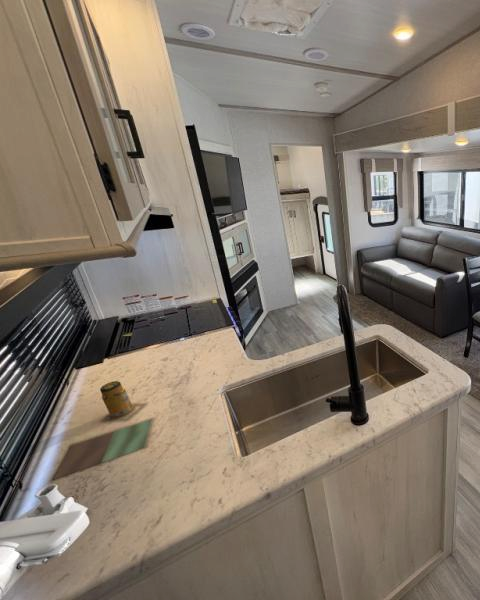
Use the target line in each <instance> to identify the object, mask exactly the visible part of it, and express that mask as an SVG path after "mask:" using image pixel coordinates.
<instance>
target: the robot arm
mask: <svg viewBox="0 0 480 600" xmlns="http://www.w3.org/2000/svg"><path fill="white" fill-rule="evenodd" d="M74 502H75V499H74V498H73V497H72V496H68V497H65V498H63V499H62V501H60V502H59V503H58V506H59V507H60V509H59V511H55V512H54V513H53V515H46V516H42V504H41V501H40V502H39V503H38V504H36V505H35V506H34V507H33V508H31V509H30V510H28V511H26V512H24V513H23V514H21V515H20V516H19V517H18V518H16V519H11V520H3V521H0V600H2V599H3V597H4V596H5V595H6V594H7V593H8V592H9V591H10V589H11V588H12V587H14V585H15V584H16V582H18V580H20V578H21V577H22V576H23V574H25V572H26V571H27V569H28V568H31V567H36V566H38V567H39V566H43V565H47V564H48V563H49V562H50V561H51V562H52V561H53V560H54V559H56V558H59V557H60V556H61V555H62V554H63V553H64V552H65V551H66V550H67V549H68V548H70V547H71V545H72V544H73V543H74V542H75V541H76V540H77V539H78V538H79V537H80V536H81V535H82V534H83V533H84V531H85V530H86V529H87V528H88V527H89V525H90V517H89V516H88V514H87V512H85V511H83V510H81V511H74V512H68V510H69V507H70V506H71V505H72V504H73V503H74Z"/></svg>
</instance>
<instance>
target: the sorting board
mask: <svg viewBox="0 0 480 600" xmlns="http://www.w3.org/2000/svg"><path fill="white" fill-rule="evenodd" d="M151 423H152V419H148V420H146V421H142V422H138V423H136V424H132V425H130V426H127V427H124V428H120V429H118V430H114V431H111V432H109V433H105V434H103V435H99V436H96V437H93V438H90V439H87V440H83V441H80V442H77V443H74V444H71V446H70V448H69V450H68V452H67V454H66V455H65V458H64V459H63V461H62V462H61V464H60V466H59V468H58V470H57V472H56V474H55V475H54V478H53V481H55V480H57V479H60V478H62V477H63V478H64V477H66V476H68V475H69V476H70V475H72V474H74V473H77V472H80V471H83V470H86V469H88V468H89V469H90V468H92V467H94V466H97V465H100V464H102V463H106V462H108V461H111V460H113V459H117V458H119V457H122V456H125V455H128V454H131V453H133V452H136V451H139V450H142V449H144V448H145V447H146V444H147V440H148V435H149V431H150V428H151Z"/></svg>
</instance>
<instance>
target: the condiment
mask: <svg viewBox="0 0 480 600" xmlns="http://www.w3.org/2000/svg"><path fill="white" fill-rule="evenodd" d="M99 391H100V393H101V399H102V401H103V403H104V405H105V407H106V409H107V412H108V413H109V415H110V417H111V418H112V419H119V418H122V417H125V416H127V415H129V414H130V413H132V411H133V410H134V405H133V404H132V402H131V400H130V397H129V395H128V392H127V391H126V388H125V387H123V385H122V383H121V382H120V381H118V380H114V381H110V382H107V383H105V384H104V385H102V386H101V387H100V389H99Z"/></svg>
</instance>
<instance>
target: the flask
mask: <svg viewBox="0 0 480 600" xmlns="http://www.w3.org/2000/svg"><path fill="white" fill-rule="evenodd" d="M58 487H59V486H58V484H56V483H52V484H47V485H45V486H44V487H42V488H41V489H39V490H38V491H37V493H35V495H34V497H35V498H37V499H39V501H40V502H41V504H42V513H41V516H46V515H53V513H54V512H55V511H59V509H60V507H59V506H58V503H59V502H60V501H62V499H63V498H66V497H65V496H64V495H63V494H62V493H61V492H60V491H59V490H58ZM81 510H83V511H85V513H87V511H88V510H89V508H88V507H86V506H84V505H82V504H80V503H78V502H76V501H74V503H73V504H72V505H71V506H70V507H69V510H68V512H74V511H81Z"/></svg>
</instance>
